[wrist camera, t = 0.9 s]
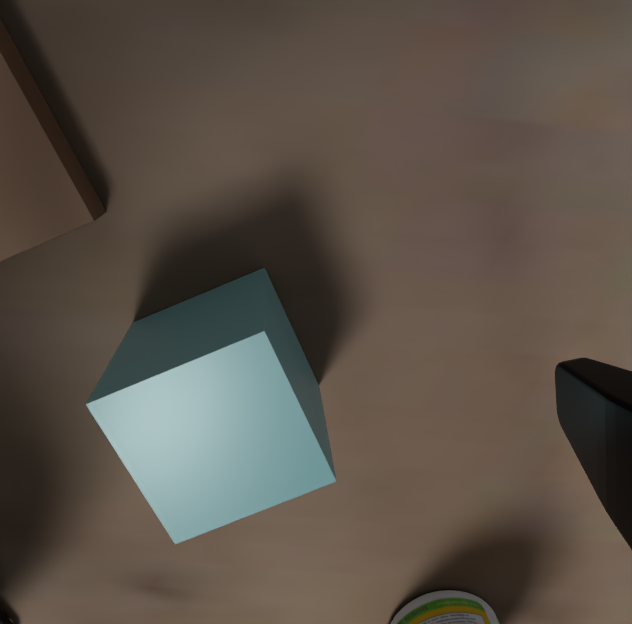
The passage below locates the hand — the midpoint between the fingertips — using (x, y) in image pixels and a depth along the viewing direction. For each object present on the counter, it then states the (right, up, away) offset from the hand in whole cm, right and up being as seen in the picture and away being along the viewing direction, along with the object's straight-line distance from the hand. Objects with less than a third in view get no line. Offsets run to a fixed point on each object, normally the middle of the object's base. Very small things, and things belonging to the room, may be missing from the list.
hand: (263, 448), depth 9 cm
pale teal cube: (-3, 0, +13) cm, 13 cm away
